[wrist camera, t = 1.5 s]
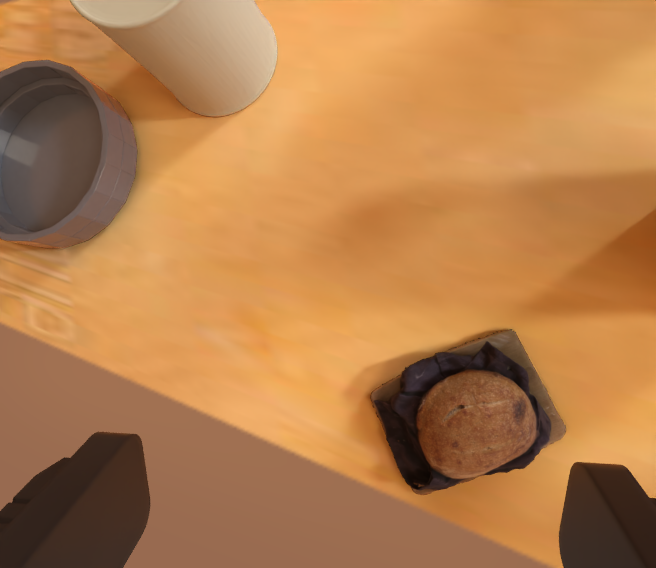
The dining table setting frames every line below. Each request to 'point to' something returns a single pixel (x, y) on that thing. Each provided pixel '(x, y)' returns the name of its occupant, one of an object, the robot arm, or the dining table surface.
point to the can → (194, 47)
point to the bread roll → (467, 413)
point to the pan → (60, 156)
